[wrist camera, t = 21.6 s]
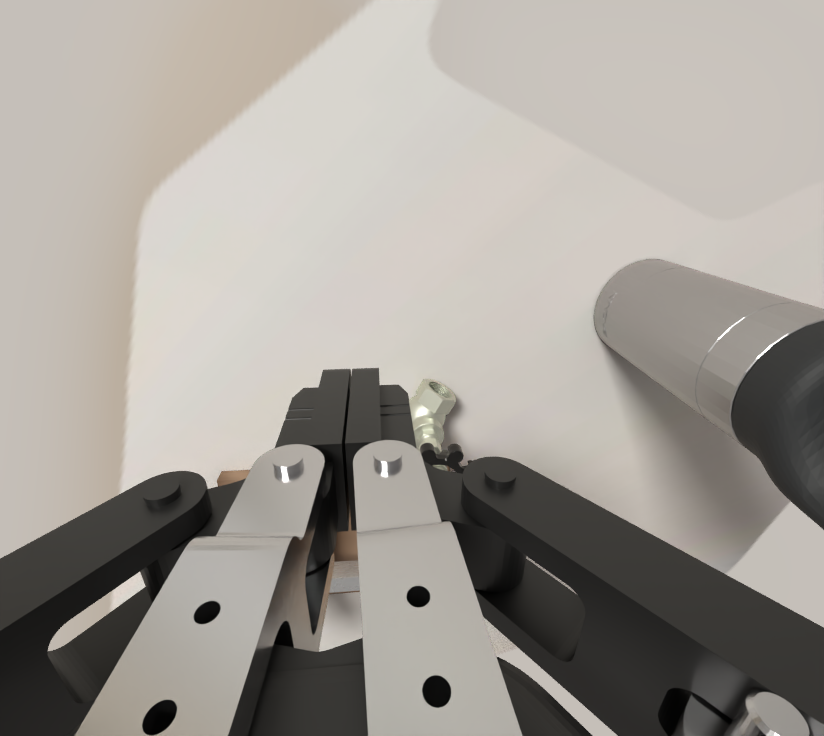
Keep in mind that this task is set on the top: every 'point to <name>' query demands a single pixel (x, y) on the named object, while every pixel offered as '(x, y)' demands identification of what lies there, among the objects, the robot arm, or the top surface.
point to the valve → (434, 425)
